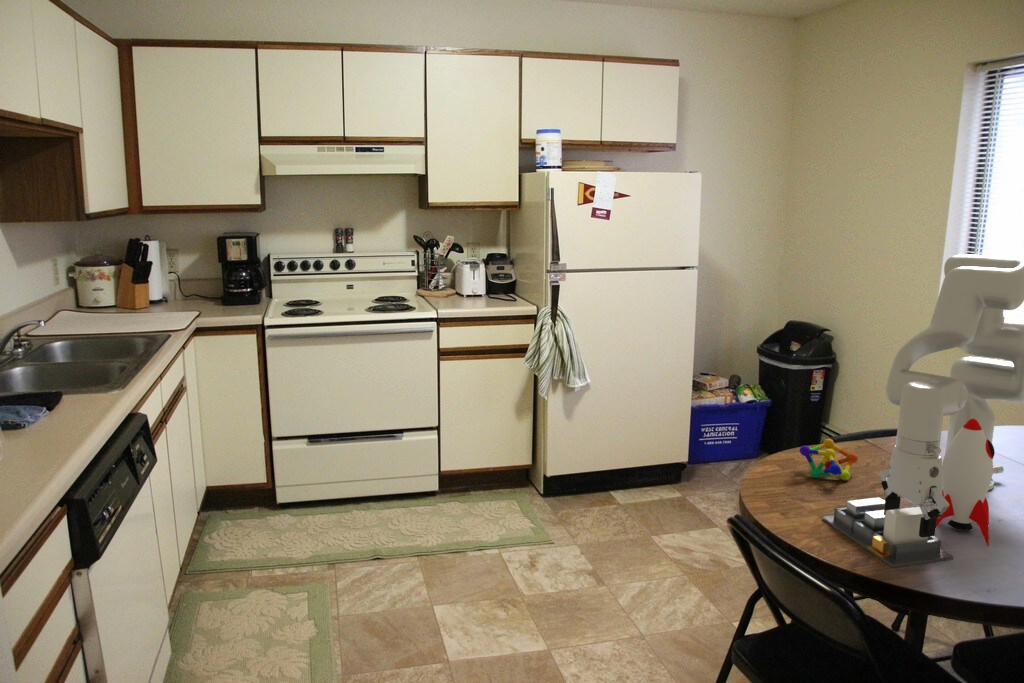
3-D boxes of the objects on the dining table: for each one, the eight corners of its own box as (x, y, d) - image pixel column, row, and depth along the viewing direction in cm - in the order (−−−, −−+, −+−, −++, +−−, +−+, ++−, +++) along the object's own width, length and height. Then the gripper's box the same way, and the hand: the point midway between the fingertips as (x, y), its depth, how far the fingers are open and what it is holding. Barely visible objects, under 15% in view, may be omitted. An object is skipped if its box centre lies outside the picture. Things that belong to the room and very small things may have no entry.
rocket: (988, 546, 155) (1004, 430, 149) (929, 534, 160) (943, 421, 155) (989, 525, 164) (1004, 415, 159) (933, 514, 169) (946, 408, 164)
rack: (876, 512, 171) (879, 489, 169) (953, 559, 150) (956, 532, 148) (822, 519, 167) (824, 495, 166) (892, 567, 146) (895, 541, 145)
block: (916, 542, 155) (920, 506, 153) (926, 549, 152) (931, 512, 151) (882, 546, 153) (885, 510, 152) (892, 553, 151) (896, 516, 149)
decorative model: (871, 462, 190) (839, 459, 181) (855, 491, 192) (822, 490, 184) (829, 435, 200) (797, 432, 191) (814, 463, 202) (781, 461, 193)
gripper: (969, 458, 141) (958, 542, 144) (901, 429, 157) (893, 505, 161) (935, 461, 139) (925, 547, 142) (870, 432, 155) (863, 509, 159)
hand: (908, 525), depth 151 cm, fingers open, 9 cm apart
